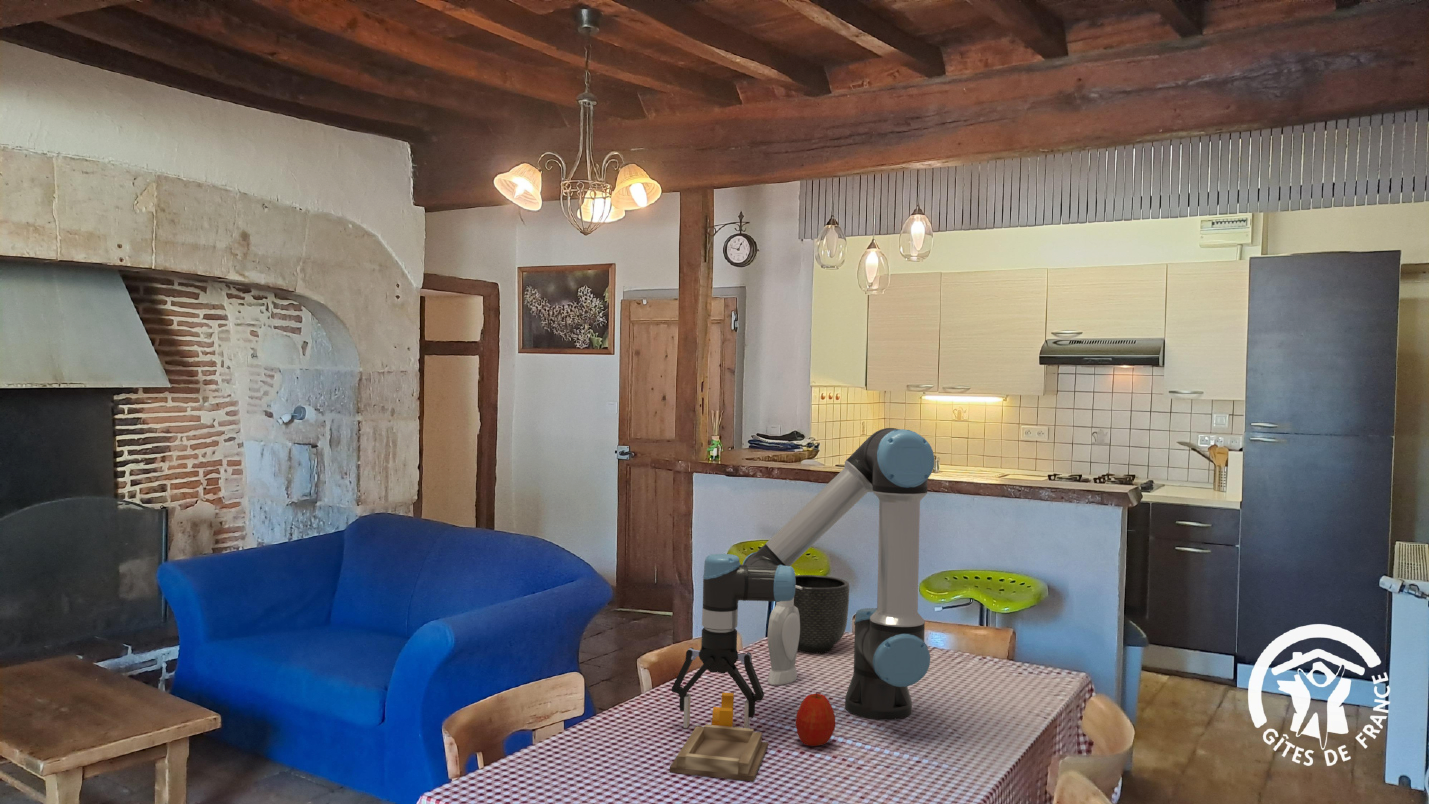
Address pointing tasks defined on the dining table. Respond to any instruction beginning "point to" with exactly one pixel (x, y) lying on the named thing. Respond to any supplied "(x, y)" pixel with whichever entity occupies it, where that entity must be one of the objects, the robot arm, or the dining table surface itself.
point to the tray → (721, 753)
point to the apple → (815, 720)
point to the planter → (821, 611)
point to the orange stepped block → (724, 711)
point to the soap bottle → (783, 642)
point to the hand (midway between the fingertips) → (716, 729)
